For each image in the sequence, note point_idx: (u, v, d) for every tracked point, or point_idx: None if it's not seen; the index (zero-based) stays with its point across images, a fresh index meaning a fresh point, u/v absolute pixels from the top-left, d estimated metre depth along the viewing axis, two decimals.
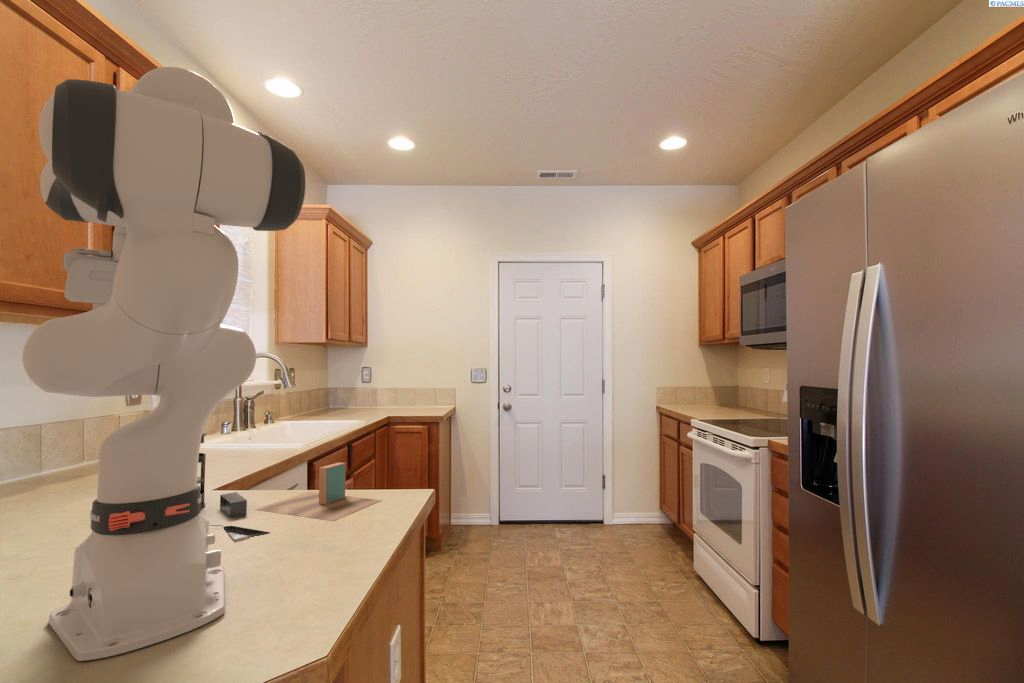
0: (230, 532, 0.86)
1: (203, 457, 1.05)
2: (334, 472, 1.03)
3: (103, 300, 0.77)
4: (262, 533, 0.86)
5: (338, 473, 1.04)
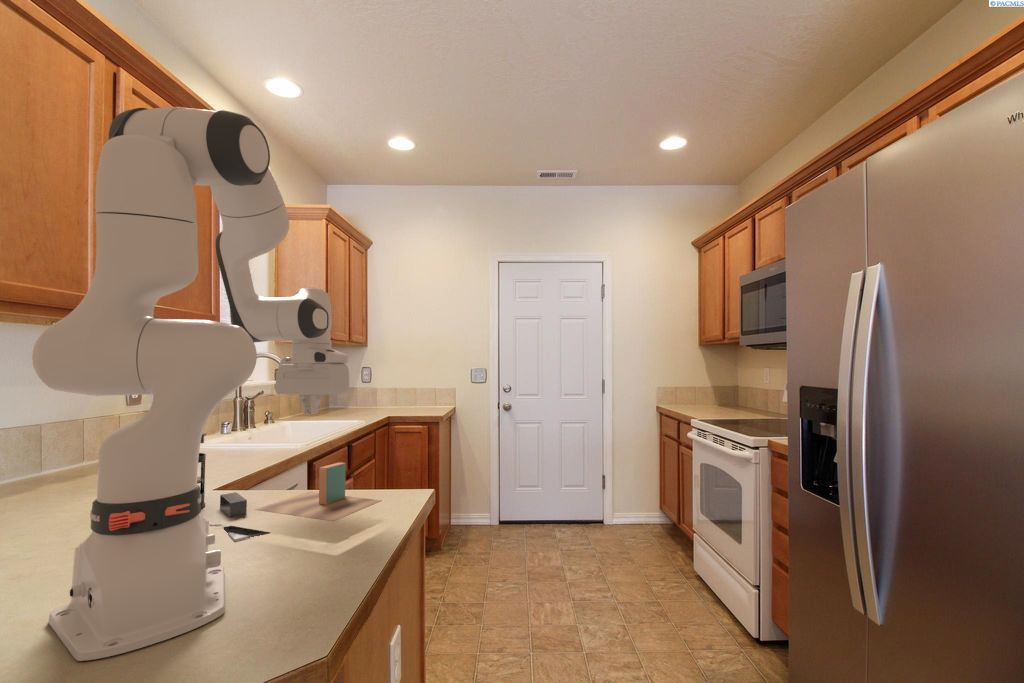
0: (230, 532, 0.86)
1: (203, 457, 1.05)
2: (334, 472, 1.03)
3: (288, 392, 1.08)
4: (262, 533, 0.86)
5: (338, 473, 1.04)
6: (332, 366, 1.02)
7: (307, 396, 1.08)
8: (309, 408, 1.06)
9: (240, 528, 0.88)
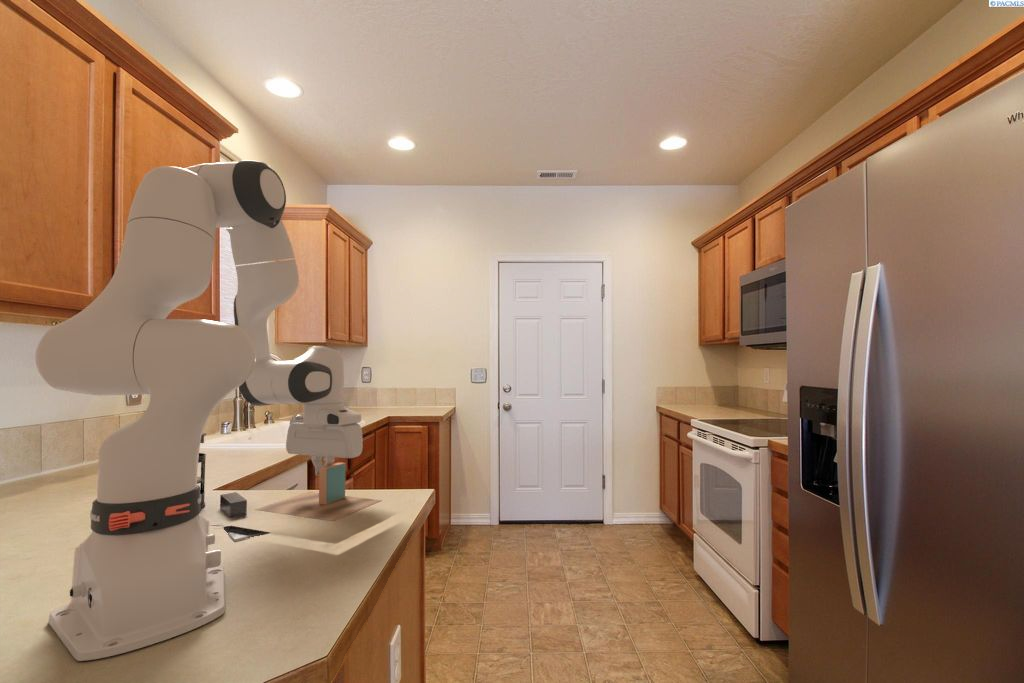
0: (230, 532, 0.86)
1: (203, 457, 1.05)
2: (334, 472, 1.03)
3: (300, 452, 1.05)
4: (262, 533, 0.86)
5: (338, 473, 1.04)
6: (345, 429, 1.00)
7: (319, 456, 1.05)
8: None
9: (240, 528, 0.88)
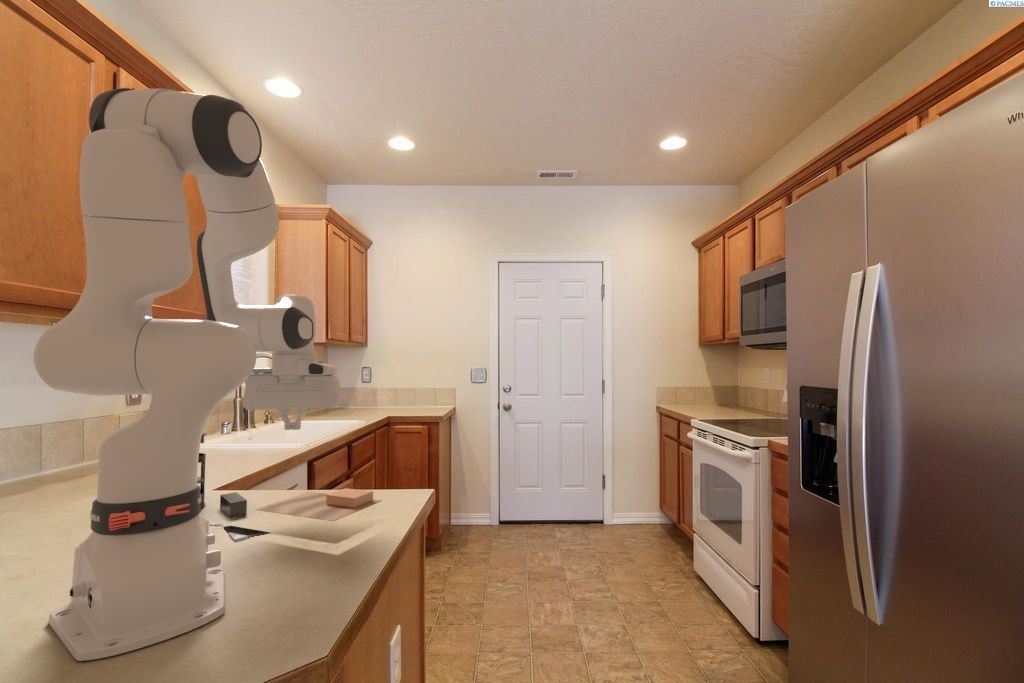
0: (230, 532, 0.86)
1: (203, 457, 1.05)
2: None
3: (265, 407, 0.99)
4: (262, 533, 0.86)
5: None
6: (330, 378, 1.00)
7: (287, 410, 1.01)
8: (293, 423, 1.00)
9: (240, 528, 0.88)
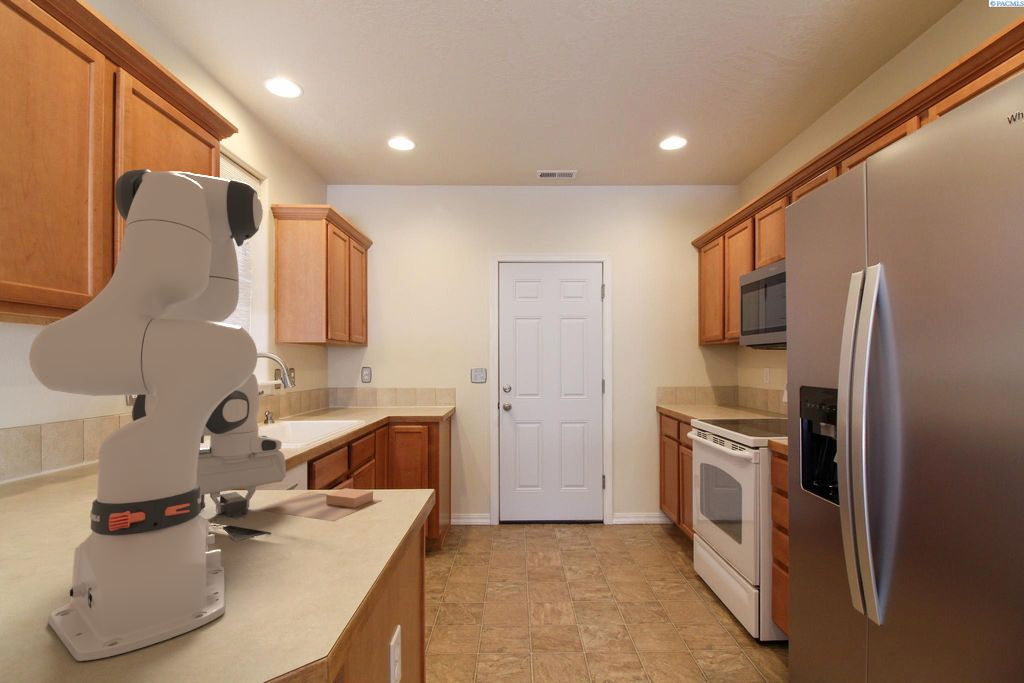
0: (230, 532, 0.86)
1: None
2: None
3: (206, 492, 0.91)
4: (262, 533, 0.86)
5: None
6: (281, 453, 1.01)
7: None
8: None
9: (240, 528, 0.88)
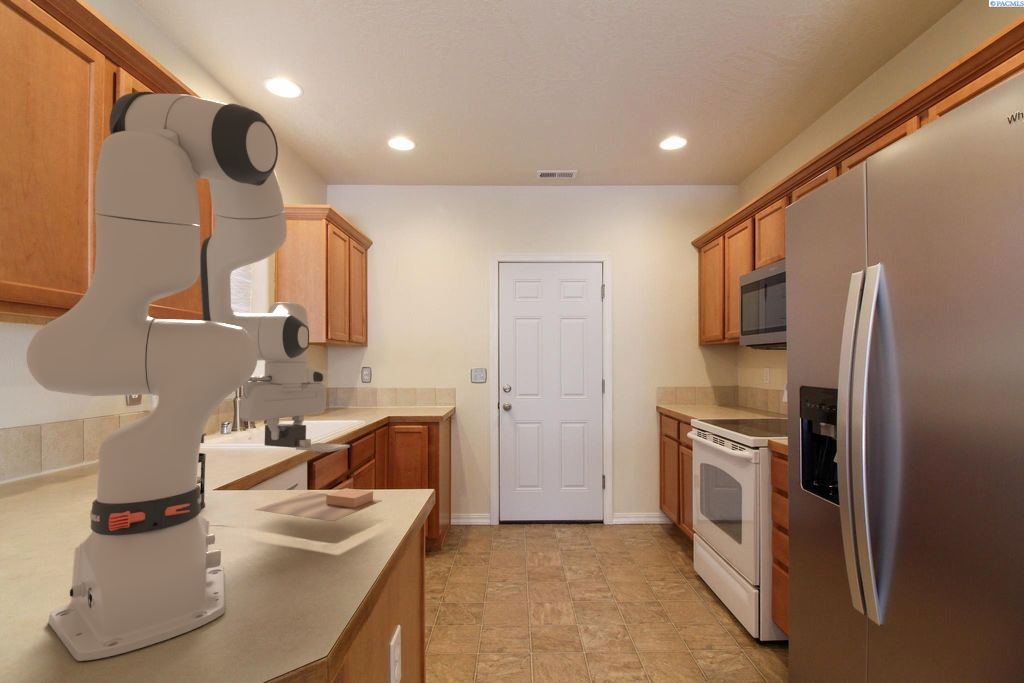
0: (312, 448, 0.93)
1: (203, 457, 1.05)
2: None
3: (271, 417, 0.95)
4: (345, 446, 0.95)
5: None
6: (324, 385, 1.08)
7: None
8: None
9: (315, 446, 0.95)
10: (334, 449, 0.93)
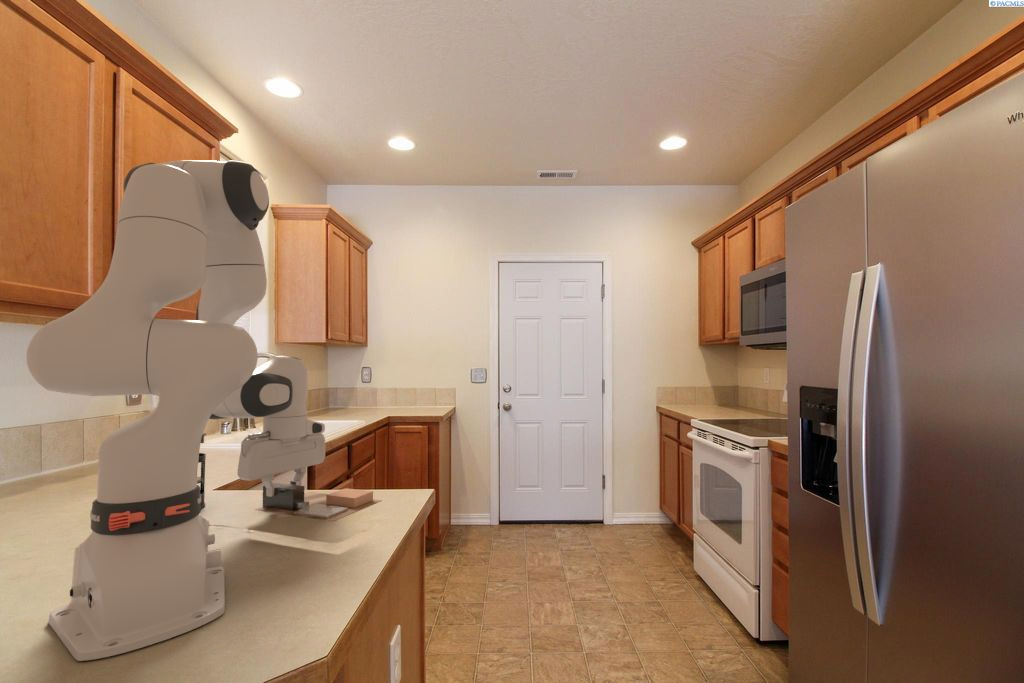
0: (311, 513, 0.92)
1: (203, 457, 1.05)
2: None
3: (269, 474, 0.94)
4: (343, 510, 0.95)
5: None
6: (323, 435, 1.07)
7: None
8: (298, 482, 1.01)
9: (314, 510, 0.94)
10: (332, 515, 0.92)
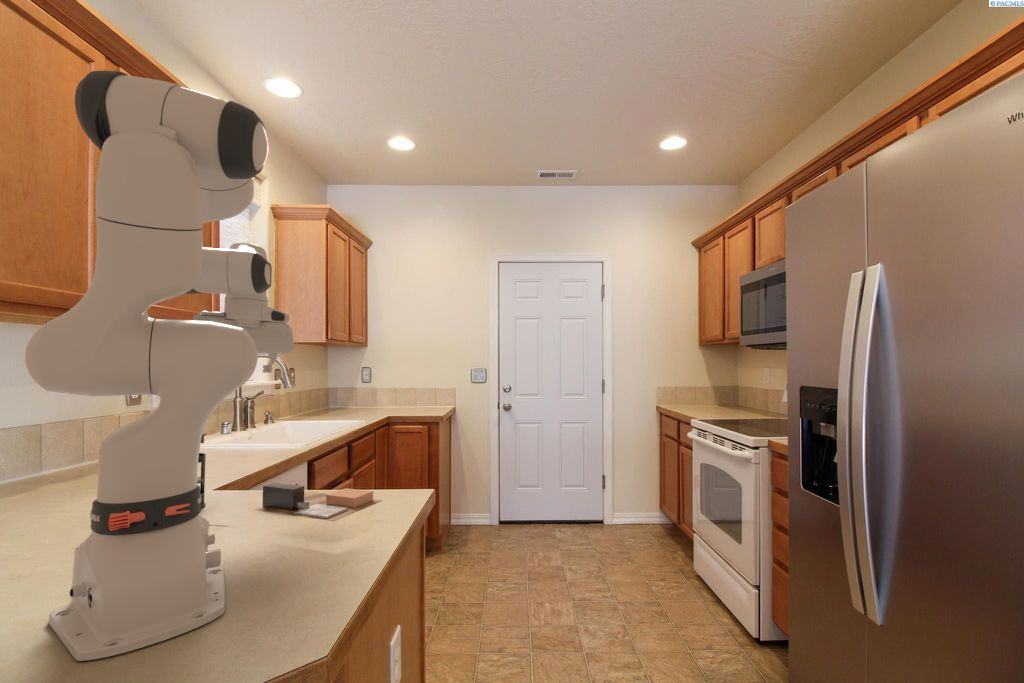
0: (311, 513, 0.92)
1: (203, 457, 1.05)
2: None
3: None
4: (343, 510, 0.95)
5: None
6: (289, 326, 1.09)
7: None
8: (267, 366, 1.07)
9: (314, 510, 0.94)
10: (332, 515, 0.92)
